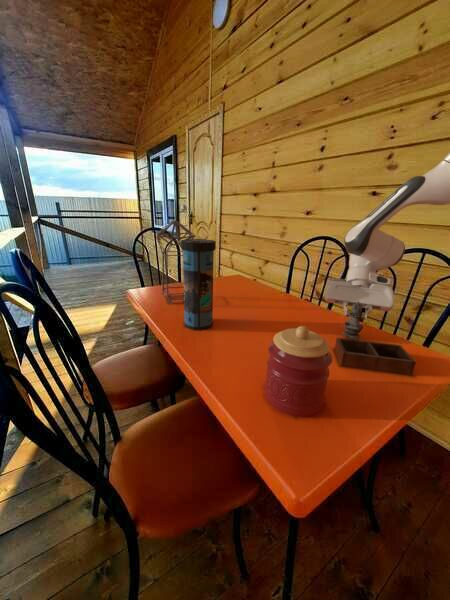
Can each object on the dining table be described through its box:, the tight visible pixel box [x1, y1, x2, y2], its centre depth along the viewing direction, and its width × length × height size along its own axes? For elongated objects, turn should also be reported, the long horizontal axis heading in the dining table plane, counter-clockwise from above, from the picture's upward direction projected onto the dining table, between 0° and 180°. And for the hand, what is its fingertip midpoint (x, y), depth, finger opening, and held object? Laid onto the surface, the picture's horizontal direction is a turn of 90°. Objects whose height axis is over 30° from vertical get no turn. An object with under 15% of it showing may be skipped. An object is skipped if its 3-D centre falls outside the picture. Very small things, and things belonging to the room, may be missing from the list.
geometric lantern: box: [155, 220, 197, 305], centre depth 110 cm, size 16×16×35 cm
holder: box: [333, 337, 417, 377], centre depth 71 cm, size 17×9×5 cm, turn 78°
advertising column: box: [180, 238, 217, 331], centre depth 87 cm, size 11×11×30 cm
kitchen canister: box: [264, 325, 333, 418], centre depth 55 cm, size 13×13×18 cm
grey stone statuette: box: [342, 301, 364, 340], centre depth 83 cm, size 6×6×12 cm
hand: (355, 317), depth 82 cm, fingers closed on grey stone statuette, 3 cm apart
